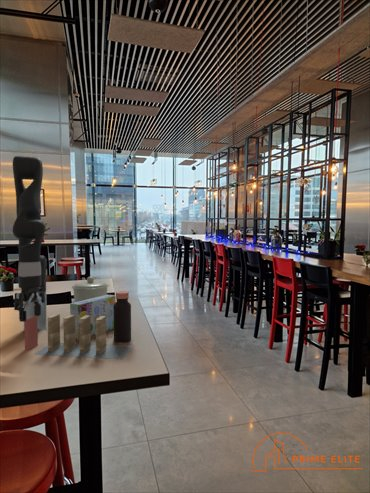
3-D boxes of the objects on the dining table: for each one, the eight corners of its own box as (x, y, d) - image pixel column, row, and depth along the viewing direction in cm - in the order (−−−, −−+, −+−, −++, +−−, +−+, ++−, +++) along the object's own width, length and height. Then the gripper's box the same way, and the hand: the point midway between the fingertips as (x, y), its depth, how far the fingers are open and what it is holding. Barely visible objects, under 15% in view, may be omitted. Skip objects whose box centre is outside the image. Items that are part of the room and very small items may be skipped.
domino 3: (63, 351, 111) (63, 318, 111) (70, 346, 116) (70, 314, 116) (68, 352, 111) (68, 318, 110) (75, 347, 116) (74, 314, 115)
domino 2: (48, 350, 112) (47, 317, 111) (55, 345, 117) (55, 314, 116) (52, 351, 112) (52, 317, 111) (60, 346, 117) (59, 314, 116)
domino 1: (24, 352, 113) (24, 319, 113) (33, 347, 118) (32, 316, 118) (29, 352, 113) (28, 319, 112) (37, 347, 118) (37, 316, 117)
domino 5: (95, 353, 109) (95, 319, 109) (101, 348, 114) (101, 316, 114) (100, 353, 109) (100, 319, 109) (106, 348, 114) (106, 316, 114)
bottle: (123, 346, 119) (122, 294, 118) (110, 343, 123) (109, 292, 122) (134, 341, 125) (134, 291, 124) (121, 338, 128) (121, 290, 128)
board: (34, 356, 109) (34, 354, 109) (53, 344, 121) (53, 342, 121) (122, 362, 105) (122, 359, 105) (133, 349, 116) (133, 346, 116)
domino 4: (79, 352, 110) (79, 319, 110) (86, 347, 115) (85, 315, 115) (84, 352, 110) (84, 319, 110) (90, 347, 115) (90, 315, 115)
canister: (113, 313, 169) (113, 274, 168) (101, 323, 151) (100, 279, 150) (81, 312, 170) (81, 274, 170) (65, 321, 152) (64, 278, 152)
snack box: (107, 326, 146) (107, 294, 145) (116, 328, 143) (116, 295, 142) (70, 339, 127) (69, 302, 127) (79, 341, 125) (79, 304, 124)
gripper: (32, 272, 122) (33, 313, 122) (6, 276, 108) (7, 323, 108) (50, 272, 121) (51, 314, 121) (26, 276, 107) (27, 323, 107)
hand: (30, 318), depth 115 cm, fingers open, 8 cm apart
